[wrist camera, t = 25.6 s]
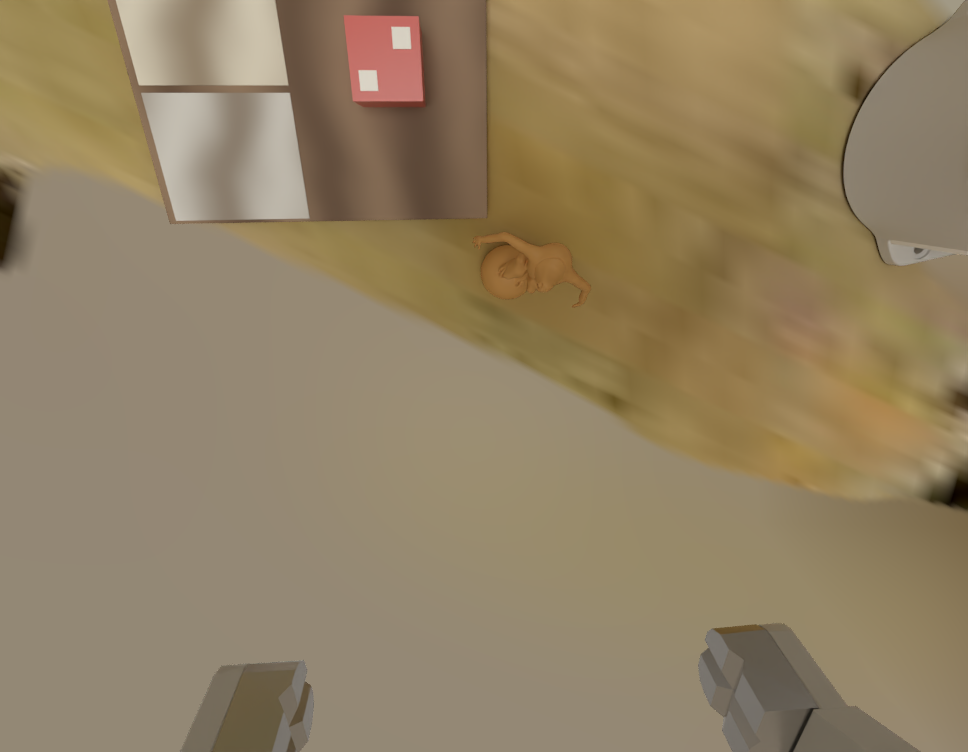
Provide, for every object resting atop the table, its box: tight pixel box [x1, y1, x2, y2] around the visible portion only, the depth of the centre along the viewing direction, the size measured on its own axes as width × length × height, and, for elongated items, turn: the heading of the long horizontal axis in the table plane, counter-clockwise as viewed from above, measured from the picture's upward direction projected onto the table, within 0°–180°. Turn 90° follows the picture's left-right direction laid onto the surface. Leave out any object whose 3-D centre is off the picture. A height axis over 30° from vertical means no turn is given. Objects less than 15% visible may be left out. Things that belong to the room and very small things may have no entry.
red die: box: [344, 15, 426, 107], centre depth 28 cm, size 4×4×4 cm
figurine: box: [473, 232, 591, 307], centre depth 32 cm, size 8×6×12 cm
